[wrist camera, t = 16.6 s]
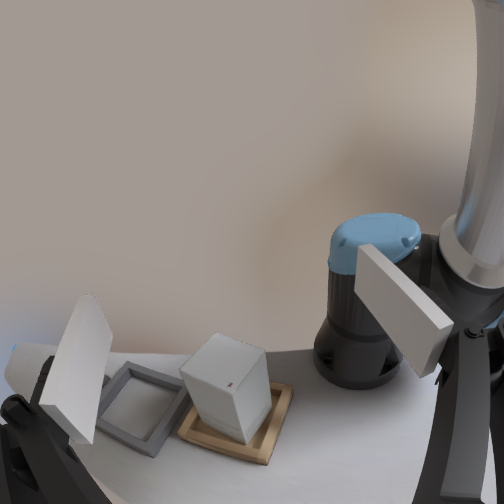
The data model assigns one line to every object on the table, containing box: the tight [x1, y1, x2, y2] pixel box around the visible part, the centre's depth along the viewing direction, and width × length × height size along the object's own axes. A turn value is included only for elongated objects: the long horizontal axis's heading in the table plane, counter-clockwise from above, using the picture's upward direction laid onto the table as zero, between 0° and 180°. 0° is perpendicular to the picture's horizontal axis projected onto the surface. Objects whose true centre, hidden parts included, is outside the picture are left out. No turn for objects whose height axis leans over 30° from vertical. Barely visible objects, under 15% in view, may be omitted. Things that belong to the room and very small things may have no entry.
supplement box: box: [179, 333, 272, 445], centre depth 35 cm, size 7×7×13 cm
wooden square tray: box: [177, 381, 293, 465], centre depth 38 cm, size 12×12×2 cm
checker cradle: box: [95, 361, 191, 458], centre depth 40 cm, size 13×14×2 cm
